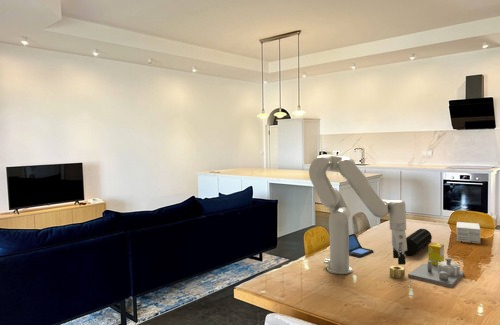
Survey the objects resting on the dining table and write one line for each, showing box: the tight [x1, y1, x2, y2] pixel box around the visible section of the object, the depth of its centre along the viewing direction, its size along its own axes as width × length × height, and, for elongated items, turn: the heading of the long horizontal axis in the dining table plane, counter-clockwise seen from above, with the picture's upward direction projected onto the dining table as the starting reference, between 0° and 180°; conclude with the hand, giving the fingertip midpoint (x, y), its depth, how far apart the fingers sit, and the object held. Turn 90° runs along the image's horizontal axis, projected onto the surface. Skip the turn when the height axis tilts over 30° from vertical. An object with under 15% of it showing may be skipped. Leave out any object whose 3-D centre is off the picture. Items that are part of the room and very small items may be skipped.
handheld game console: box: [349, 233, 374, 258], centre depth 216 cm, size 16×13×9 cm
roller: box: [405, 228, 433, 257], centre depth 221 cm, size 38×10×10 cm, turn 140°
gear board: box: [407, 257, 465, 288], centre depth 176 cm, size 19×20×8 cm
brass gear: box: [389, 265, 406, 280], centre depth 177 cm, size 7×7×4 cm
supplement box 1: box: [427, 242, 445, 266], centre depth 191 cm, size 6×6×11 cm
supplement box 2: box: [456, 221, 481, 244], centre depth 239 cm, size 17×13×9 cm
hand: (399, 261), depth 177 cm, fingers open, 9 cm apart
